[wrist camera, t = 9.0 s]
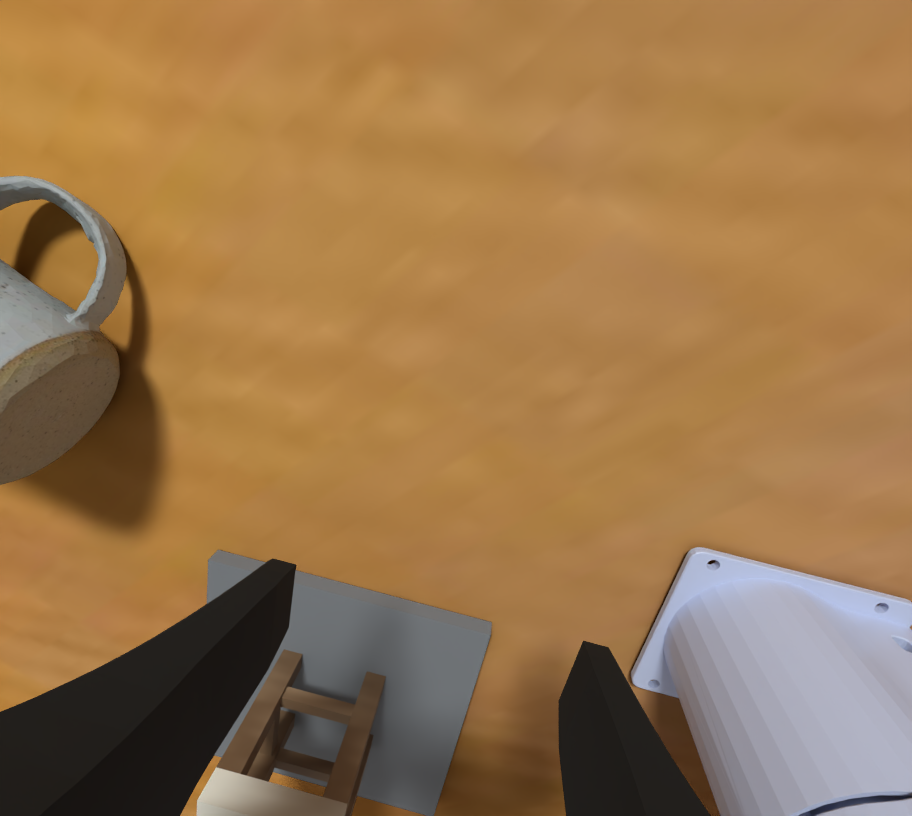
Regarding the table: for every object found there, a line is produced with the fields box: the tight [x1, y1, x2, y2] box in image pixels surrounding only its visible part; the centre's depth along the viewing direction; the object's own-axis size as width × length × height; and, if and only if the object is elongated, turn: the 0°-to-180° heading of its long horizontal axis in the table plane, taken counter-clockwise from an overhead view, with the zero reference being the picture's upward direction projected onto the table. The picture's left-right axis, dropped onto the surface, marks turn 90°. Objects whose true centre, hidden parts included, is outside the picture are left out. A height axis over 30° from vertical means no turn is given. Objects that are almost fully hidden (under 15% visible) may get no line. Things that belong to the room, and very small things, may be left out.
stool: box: [197, 649, 386, 816], centre depth 22 cm, size 5×5×7 cm
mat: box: [207, 550, 492, 816], centre depth 25 cm, size 14×14×1 cm
